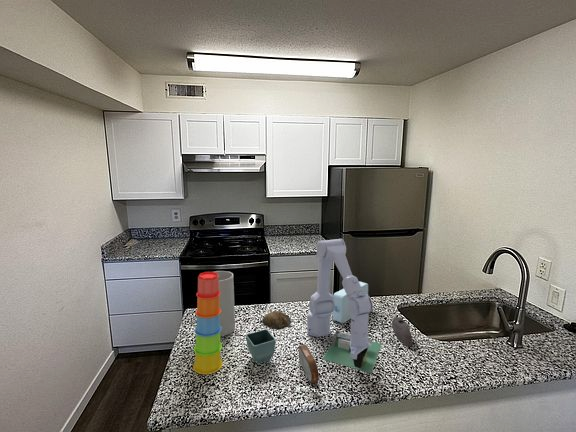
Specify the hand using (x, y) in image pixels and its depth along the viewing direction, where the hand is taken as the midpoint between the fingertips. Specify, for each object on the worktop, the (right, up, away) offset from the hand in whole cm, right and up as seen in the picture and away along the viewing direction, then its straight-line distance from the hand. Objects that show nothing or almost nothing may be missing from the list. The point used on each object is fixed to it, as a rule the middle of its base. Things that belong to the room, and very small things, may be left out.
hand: (358, 366), depth 107 cm
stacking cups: (-53, -2, +4) cm, 54 cm away
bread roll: (-29, +3, +36) cm, 47 cm away
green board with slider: (+1, -1, +12) cm, 12 cm away
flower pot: (-35, -2, +8) cm, 36 cm away
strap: (+1, +3, +14) cm, 15 cm away
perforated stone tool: (+23, +1, +21) cm, 31 cm away
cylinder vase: (-54, +2, +29) cm, 62 cm away
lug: (+3, -1, +6) cm, 7 cm away
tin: (-18, -3, 0) cm, 18 cm away
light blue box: (+6, +4, +43) cm, 44 cm away
